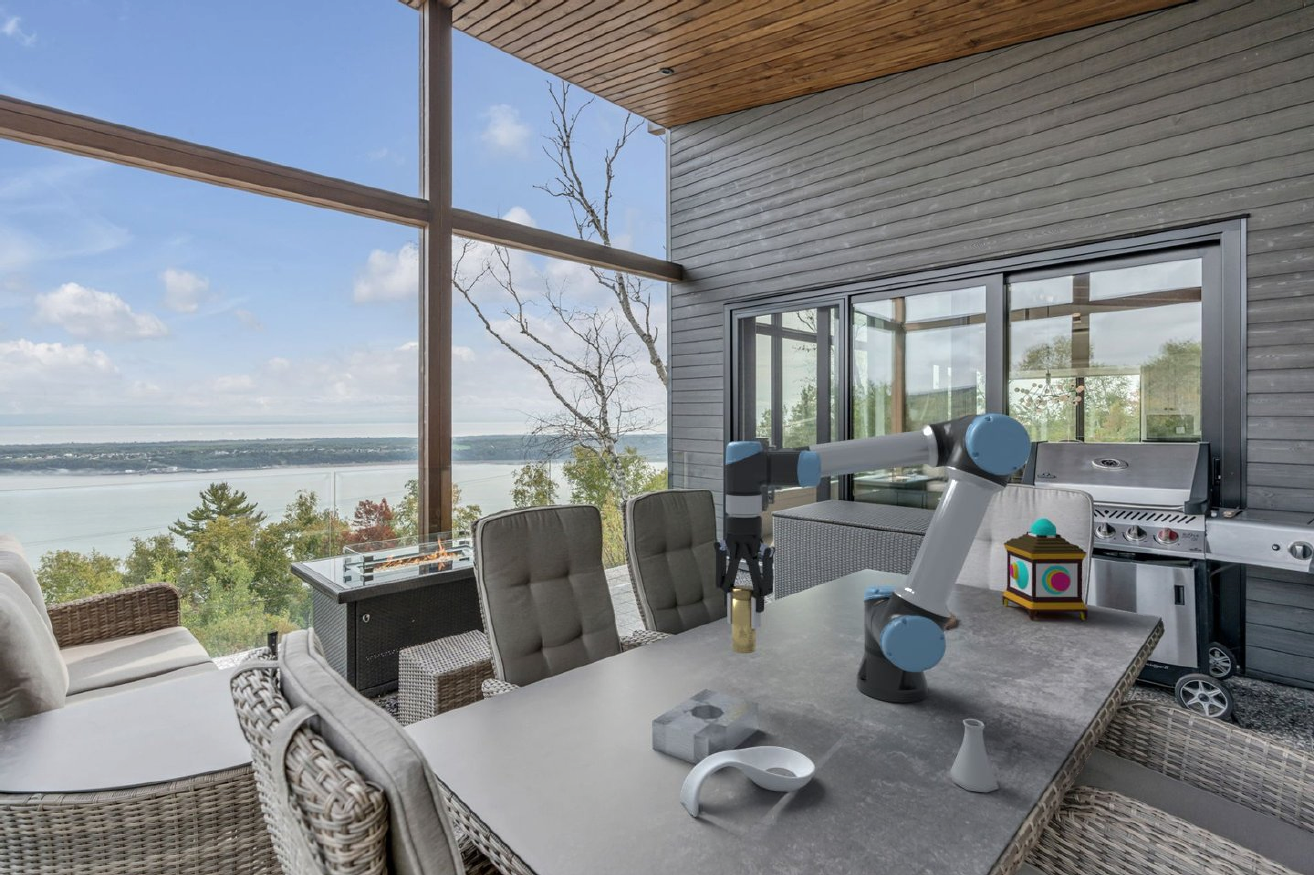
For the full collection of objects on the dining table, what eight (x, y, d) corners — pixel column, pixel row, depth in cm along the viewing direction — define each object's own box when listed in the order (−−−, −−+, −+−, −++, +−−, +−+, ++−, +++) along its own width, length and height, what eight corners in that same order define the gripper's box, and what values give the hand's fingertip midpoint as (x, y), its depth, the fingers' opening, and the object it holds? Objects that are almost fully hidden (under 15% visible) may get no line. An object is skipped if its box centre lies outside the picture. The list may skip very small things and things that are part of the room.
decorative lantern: (1095, 622, 198) (1096, 522, 197) (1029, 622, 198) (1029, 523, 197) (1056, 604, 218) (1056, 513, 217) (995, 604, 218) (995, 514, 217)
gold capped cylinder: (760, 648, 139) (760, 587, 139) (748, 655, 135) (748, 592, 135) (739, 643, 142) (739, 584, 142) (727, 650, 138) (727, 588, 138)
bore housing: (758, 734, 127) (758, 703, 127) (708, 774, 113) (708, 739, 112) (705, 718, 134) (705, 688, 134) (652, 753, 120) (652, 720, 120)
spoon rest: (784, 759, 118) (784, 719, 118) (830, 791, 107) (830, 748, 107) (668, 795, 107) (668, 751, 107) (707, 834, 96) (707, 786, 96)
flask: (941, 771, 113) (941, 714, 113) (982, 769, 114) (982, 712, 113) (964, 795, 106) (964, 733, 106) (1007, 793, 106) (1007, 731, 106)
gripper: (791, 516, 136) (791, 628, 136) (716, 509, 147) (716, 613, 147) (774, 520, 130) (774, 637, 130) (698, 513, 141) (698, 621, 141)
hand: (743, 624), depth 139 cm, fingers closed on gold capped cylinder, 5 cm apart
